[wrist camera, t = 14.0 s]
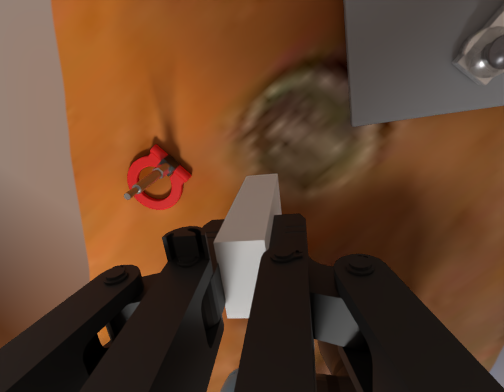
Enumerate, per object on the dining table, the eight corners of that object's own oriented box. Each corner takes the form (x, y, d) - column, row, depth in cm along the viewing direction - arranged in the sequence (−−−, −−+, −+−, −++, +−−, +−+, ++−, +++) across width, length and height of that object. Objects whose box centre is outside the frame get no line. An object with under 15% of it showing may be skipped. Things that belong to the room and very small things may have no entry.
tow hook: (163, 216, 51) (198, 177, 47) (119, 264, 39) (161, 217, 35) (121, 181, 49) (153, 138, 46) (62, 219, 38) (99, 165, 34)
